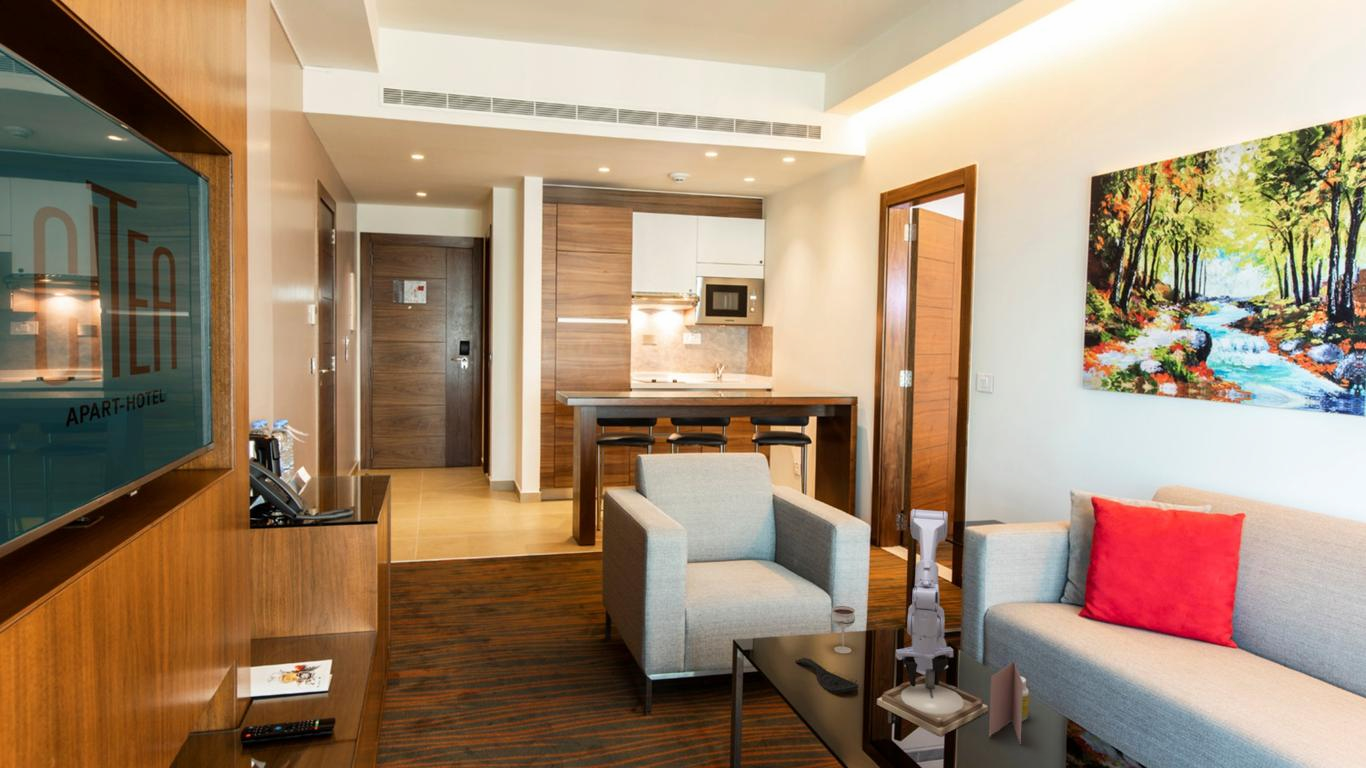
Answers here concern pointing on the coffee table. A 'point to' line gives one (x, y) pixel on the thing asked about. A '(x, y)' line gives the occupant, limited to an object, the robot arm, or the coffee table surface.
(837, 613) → the wineglass
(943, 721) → the dial housing
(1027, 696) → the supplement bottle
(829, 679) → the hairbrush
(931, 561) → the robot arm
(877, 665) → the coffee table surface
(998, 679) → the greeting card
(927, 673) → the dial
